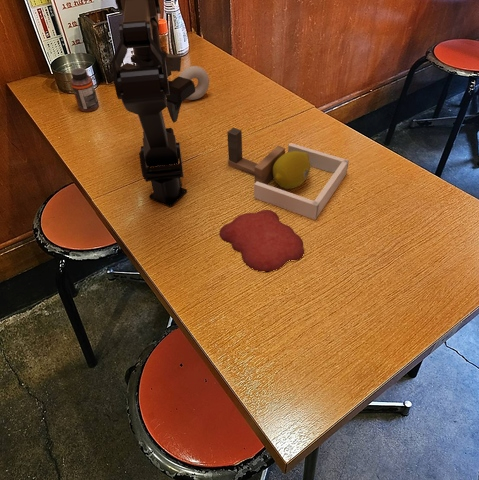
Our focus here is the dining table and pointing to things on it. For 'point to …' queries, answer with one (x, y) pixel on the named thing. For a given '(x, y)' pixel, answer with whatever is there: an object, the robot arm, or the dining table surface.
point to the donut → (202, 80)
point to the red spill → (263, 240)
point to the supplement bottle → (84, 90)
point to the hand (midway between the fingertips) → (158, 116)
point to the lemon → (291, 169)
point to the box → (301, 203)
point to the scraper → (260, 170)
